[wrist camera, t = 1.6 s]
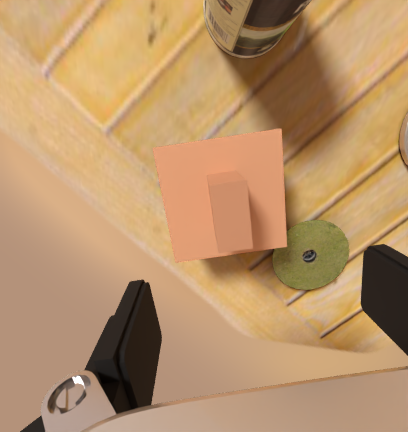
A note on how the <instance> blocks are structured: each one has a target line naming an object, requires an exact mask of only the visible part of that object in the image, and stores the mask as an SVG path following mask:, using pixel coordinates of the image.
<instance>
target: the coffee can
mask: <svg viewBox="0 0 408 432" xmlns="http://www.w3.org/2000/svg"><path fill="white" fill-rule="evenodd" d="M310 2H311V0H204V18H205V23H206V26H207V29H208V31H209V33H210V35H211V37H212V38H213V40H214V41H215V43H216V44H217V45H218V46H219V47H220V48H221V49H222V50H223V51H225V52H226V53H228V54H229V55H232V56H235V57H238V58H254V57H258V56H261V55H263V54H265V53H266V52H268V51H269V50H271V49H272V48H273V47H274V46H275V45H276V44H277V43H278V42H279V41H280V40H281V38H282V37H283V35H284V33H285V32H286V31H287V30H288V29H289V27H290V26H291V25H292V24H293V22H294V21H295V20H296V19H297V17H298V16H299V15H300V14H301V13H302V11H303V10H304V9H305V8H306V6H307V5H308V4H309V3H310Z"/></svg>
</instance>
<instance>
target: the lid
mask: <svg viewBox="0 0 408 432" xmlns="http://www.w3.org/2000/svg"><path fill="white" fill-rule="evenodd" d="M153 153H154V158H155V163H156V168H157V173H158V178H159V183H160V188H161V192H162V197H163V202H164V207H165V212H166V217H167V222H168V227H169V232H170V237H171V242H172V247H173V252H174V257H175V262H176V263H177V262H184V261H191V260H198V259H205V258H212V257H219V256H226V255H233V254H240V253H247V252H254V251H261V250H268V249H275V248H282V247H287V235H286V213H285V192H284V170H283V148H282V128H280V129H273V130H267V131H260V132H253V133H247V134H240V135H234V136H227V137H221V138H214V139H207V140H201V141H194V142H188V143H181V144H175V145H168V146H161V147H155V148H153Z"/></svg>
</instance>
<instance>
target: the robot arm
mask: <svg viewBox="0 0 408 432" xmlns="http://www.w3.org/2000/svg"><path fill="white" fill-rule="evenodd" d="M399 143H400V151H401V155H402V157H403V159H404V161H405V163H406V164H407V166H408V112H407V114H406V116H405V118H404V121H403V124H402V127H401V131H400V138H399ZM361 306H362V309H363V311H364V312H365V313H366V314H367V315H368V316H369V317H370V318H371V319H372V320H373V321H374V322H375V323H376V324H377V325H378V326H379V327H380V328H381V329H382V330H383V331H384V332H385V333H386V334H387V335H388V336H389V337H390V338H391V339H392V340H393V341H394V342H395V343H396V344H397V345H398V346H399V347H400V348H401V349H402V350H403V351H404V352H405V353H406V354H407V355H408V257H407V256H405V255H404V254H402V253H400V252H398V251H396V250H394V249H393V248H391V247H389V246H387V245H385V244H381V245H374V246H369V247H368V248H367V250H365V251H364V255H363V273H362V290H361ZM161 341H162V335H161V330H160V326H159V321H158V317H157V314H156V309H155V305H154V301H153V297H152V293H151V289H150V285H149V283H148V282H147V283H145V282H144V280H137V281H131V282H129V284H128V286H127V289H126V291H125V293H124V295H123V297H122V300H121V302H120V304H119V306H118V308H117V310H116V313H115V315H113V316H111V317H110V318H109V320H108V322H107V324H106V326H105V328H104V330H103V332H102V334H101V336H100V338H99V340H98V343H97V345H96V347H95V349H94V351H93V353H92V355H91V357H90V359H89V361H88V363H87V365H86V368H85V370H84V371H77V372H74V373H71V374H69V375H68V376H66V377H64V378H62V379H61V380H60V381H59V382H57V383H56V384H55V385H54V386H53V387H52V388H51V389H50V390H49V392H48V393H47V395H46V396H45V398H44V400H43V402H42V405H41V416H40V417H39V418H37V419H36V420H35V421H33V422H32V423H31V424H30V425H28V426H27V427H26V428H24V429H23V430H22V431H20V432H408V366H406V367H398V368H391V369H384V370H376V371H370V372H363V373H355V374H348V375H341V376H334V377H328V378H320V379H314V380H306V381H300V382H293V383H286V384H279V385H273V386H266V387H259V388H252V389H246V390H239V391H233V392H226V393H219V394H212V395H207V396H200V397H194V398H188V399H182V400H176V401H170V402H165V403H159V404H155V405H151V402H152V396H153V389H154V384H155V378H156V371H157V366H158V359H159V353H160V347H161Z"/></svg>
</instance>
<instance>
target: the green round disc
mask: <svg viewBox="0 0 408 432" xmlns="http://www.w3.org/2000/svg"><path fill="white" fill-rule="evenodd" d="M286 235H287V247H282V248H275V249H274V252H273V257H272V262H273V267H274V271H275V273H276V275H277V277H278V278H279V279H280V280H281V281H282V282H283V283H285V284H286V285H288V286H290V287H292V288H296V289H300V290H301V289H302V290H309V289H315V288H319V287H322V286H324V285H326V284H328V283H329V282H331V281H332V280H334V279H335V278H336V277H337V276H338V275H339V274H340V273H341V271H342V270H343V268H344V267H345V265H346V262H347V260H348V256H349V244H348V240H347V238H346V237H345V234H344V233H343V232H342V230H341V229H339V228H338V227H337V226H335V225H334V224H332V223H330V222H326V221H321V220H311V221H305V222H301V223H299V224H297V225H295V226H293V227H292V228H290V229H289V230H288V231H286Z"/></svg>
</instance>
